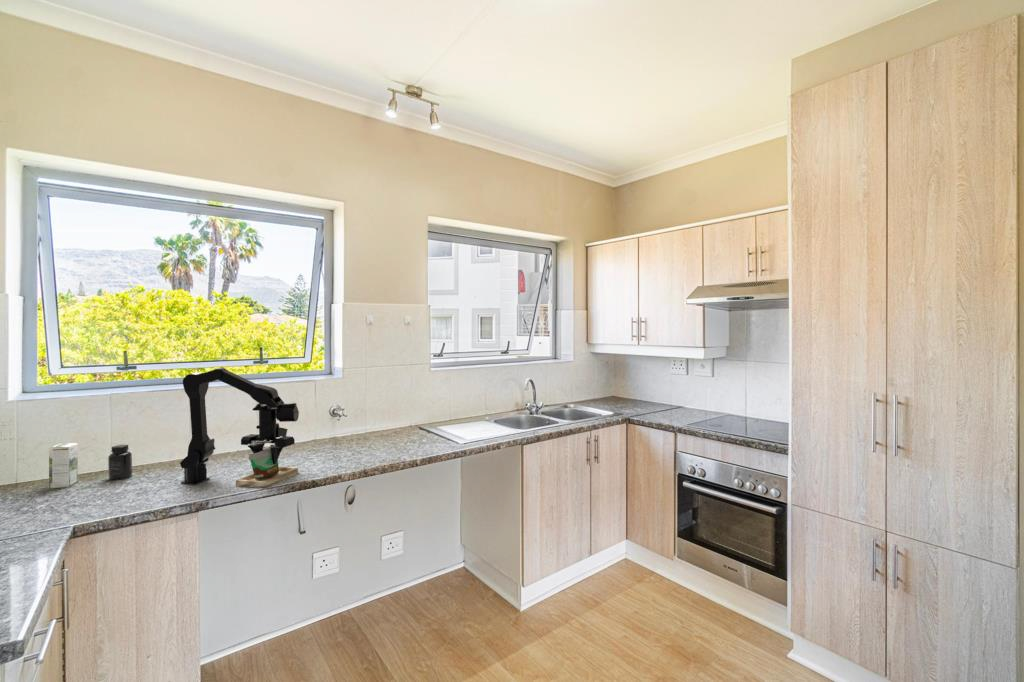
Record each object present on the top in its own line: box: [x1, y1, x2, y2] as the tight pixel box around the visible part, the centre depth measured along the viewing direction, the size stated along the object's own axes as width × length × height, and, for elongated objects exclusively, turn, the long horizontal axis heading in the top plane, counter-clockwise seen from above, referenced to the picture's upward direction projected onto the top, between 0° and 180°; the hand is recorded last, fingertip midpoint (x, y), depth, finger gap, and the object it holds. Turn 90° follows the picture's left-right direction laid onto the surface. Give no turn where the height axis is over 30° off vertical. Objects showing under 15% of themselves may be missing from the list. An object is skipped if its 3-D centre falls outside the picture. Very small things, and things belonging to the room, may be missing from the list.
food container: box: [248, 443, 279, 480], centre depth 174 cm, size 12×6×10 cm, turn 169°
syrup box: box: [48, 442, 79, 489], centre depth 166 cm, size 6×6×14 cm
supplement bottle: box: [107, 444, 133, 481], centre depth 175 cm, size 7×7×12 cm
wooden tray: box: [235, 465, 299, 489], centre depth 174 cm, size 12×18×2 cm, turn 169°
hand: (267, 463), depth 174 cm, fingers closed on food container, 5 cm apart
